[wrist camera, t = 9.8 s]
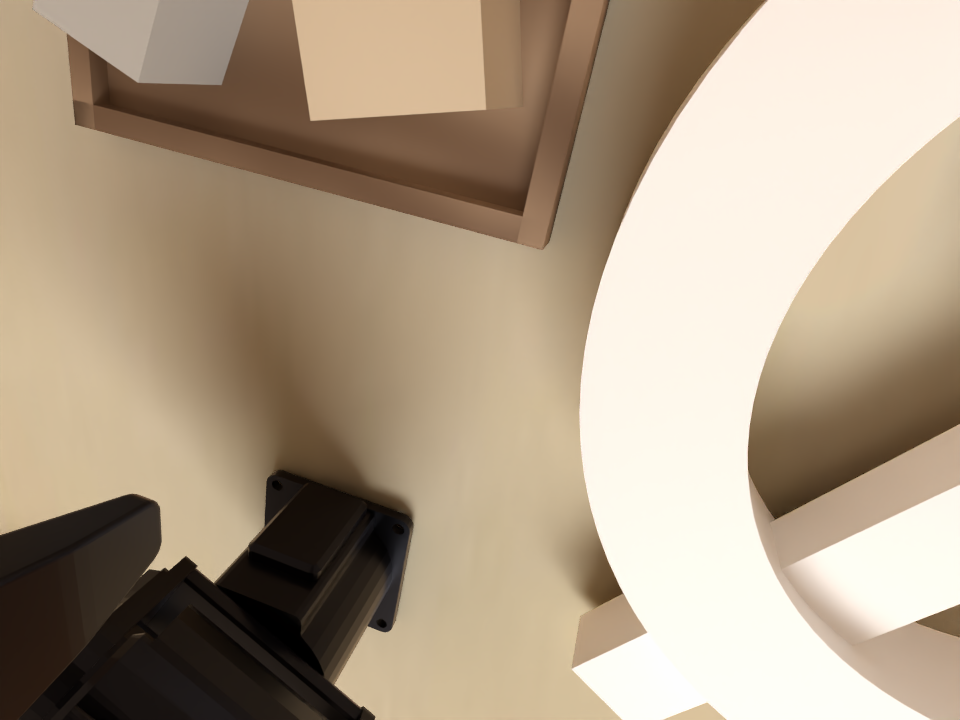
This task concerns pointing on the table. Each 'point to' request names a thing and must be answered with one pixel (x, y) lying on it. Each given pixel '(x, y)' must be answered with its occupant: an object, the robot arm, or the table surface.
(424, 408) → the table surface
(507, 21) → the tan cube
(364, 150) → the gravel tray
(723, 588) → the ring with crossbar
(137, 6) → the beige cube
